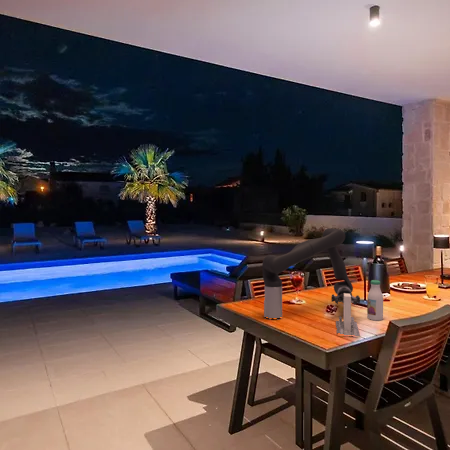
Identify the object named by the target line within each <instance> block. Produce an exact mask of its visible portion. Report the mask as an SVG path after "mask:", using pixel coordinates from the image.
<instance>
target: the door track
mask: <svg viewBox="0 0 450 450" xmlns="http://www.w3.org/2000/svg"><path fill="white" fill-rule="evenodd" d="M335 327H336V328H337V330H336V334H337V333H340V334H344V335H355V336H360V337H361V335H360V330H359V325H358V322H357V321H355V317H354V316H351V330H344V320H343V318H342V316H340V315H339V316H338V320H336V321H335Z"/></svg>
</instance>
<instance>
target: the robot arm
mask: <svg viewBox="0 0 450 450" xmlns="http://www.w3.org/2000/svg"><path fill="white" fill-rule="evenodd" d="M345 239H346V234H345V232H344V230H341V229H339V228H333V227H332V228H331V227H330V228H326V229H325V230H324V231H323V233H322V236H321V237H318V238H312V239H308V240H305V241H301V242H300V243H297V244H296V245H295V246H294V247H293V248H292V250H290V251H289V252H288V253H285V254H282V255H273V254H267V255H266V256H265V257H264V258H263V260H262V280H263V282H264V300H263V314H264V315H263V317H268V318H280V317H282V318H283V281H282V279H281V278H280V276H279V274H280V273H282V272H284V271H286V270H287V269H289V268H291V267H292V266H294V265H296V264H299V263H301V262H303V261H305V260H308V259H310V258H312V257H314V256H315V255H316V256H317V255H318V254H320V253H322V252H325V251H327V252H328V255H329V259H330V261H331V266H332V270H333V275H334V278H335V280H339V282H336V283H334V285H333V290H334V293H335V294H336V295H335V294H331V296H330V297H331V302H332V303H335V304H336V305H338V304H339V303H342V304H344V293H347V294H350V295H351V304H353V306H354V305H355V306H356V305H357V304H361V297H360V296H359V295H355V296H354V295H353V290H354V286H353V284H352V282H351V280H350V279H349V276H348V272H347V268H346V264H345V261H344V259H343V258H342V256H341V254H340V252H339V250H338V248H337V247H338V246H341V244H344V243H343V242H344V241H345ZM341 280H343V281H341Z"/></svg>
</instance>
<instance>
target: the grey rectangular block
mask: <svg viewBox="0 0 450 450" xmlns="http://www.w3.org/2000/svg"><path fill="white" fill-rule="evenodd" d="M351 317H352V303H351V295H350V294H347V293H344V303H343V321H344V330H351Z"/></svg>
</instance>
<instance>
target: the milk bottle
mask: <svg viewBox="0 0 450 450" xmlns="http://www.w3.org/2000/svg"><path fill="white" fill-rule="evenodd" d="M370 285H371V286H370V289H369V291H368V294H367V300H366V301H367V306H366V308H367V311H366V312H367V313H366V314H367V315H366V316H367V319H368V318H369V320H370V319H371V320H370V321H382V320H383V319H384V296H383V295H384V294H383V293H382V290H381V281H380V280H378V279H372V280H370Z"/></svg>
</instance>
